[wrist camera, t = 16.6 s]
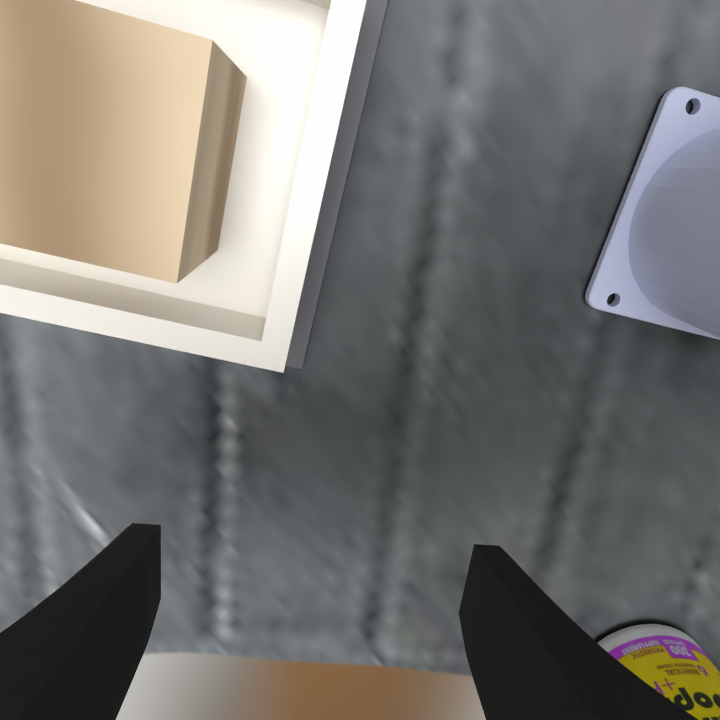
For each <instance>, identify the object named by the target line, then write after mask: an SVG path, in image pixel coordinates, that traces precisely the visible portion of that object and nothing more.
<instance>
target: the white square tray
mask: <svg viewBox="0 0 720 720" xmlns="http://www.w3.org/2000/svg"><path fill="white" fill-rule="evenodd" d="M76 1H80V2H83V3H87V4H90V5H94V6H97V7H101V8H104V9H108V10H111V11H114V12H118V13H121V14H125V15H128V16H132V17H135V18H139V19H142V20H145V21H149V22H152V23H156V24H159V25H163V26H166V27H170V28H173V29H177V30H180V31H183V32H187V33H190V34H194V35H197V36H201V37H204V38H208V39H211V40H213V41H214V42H215V43H216V44H217V45H218V46H219V47H220V48H221V50H222V51H223V52H224V53H225V54H226V55H227V56H228V57H229V58H230V59H231V60H232V61H233V62H234V64H235V65H236V66H237V67H238V68H239V69H240V70H241V71H242V72H243V73H244V74H245V75H246V76H247V79H246V85H245V91H244V96H243V102H242V108H241V114H240V120H239V126H238V132H237V138H236V144H235V150H234V156H233V162H232V168H231V174H230V180H229V186H228V192H227V198H226V204H225V210H224V216H223V222H222V228H221V234H220V240H219V246H218V251H216V252H215V253H214V254H213V255H211V256H210V257H209V258H208V259H207V260H205V261H204V262H203V263H202V264H200V265H199V266H198V267H197V268H196V269H194V270H193V271H192V272H191V273H189V274H188V275H187V276H186V277H184V278H183V279H182V280H181V281H180V282H178V283H177V284H176V283H171V282H167V281H163V280H158V279H154V278H149V277H145V276H141V275H136V274H132V273H127V272H123V271H119V270H114V269H110V268H106V267H101V266H97V265H92V264H88V263H84V262H79V261H75V260H70V259H66V258H62V257H57V256H53V255H49V254H44V253H40V252H35V251H31V250H27V249H22V248H18V247H13V246H9V245H5V244H0V313H5V314H9V315H14V316H19V317H23V318H28V319H33V320H37V321H42V322H47V323H52V324H56V325H61V326H66V327H70V328H75V329H80V330H84V331H89V332H94V333H99V334H103V335H108V336H113V337H117V338H122V339H127V340H131V341H136V342H141V343H146V344H150V345H155V346H160V347H164V348H169V349H174V350H178V351H183V352H188V353H193V354H197V355H202V356H207V357H211V358H216V359H221V360H225V361H230V362H235V363H240V364H244V365H249V366H254V367H258V368H263V369H268V370H272V371H277V372H282V373H284V368H285V364H286V359H287V355H288V350H289V346H290V341H291V337H292V332H293V328H294V323H295V319H296V314H297V310H298V305H299V301H300V296H301V292H302V287H303V283H304V279H305V274H306V270H307V265H308V261H309V256H310V252H311V247H312V243H313V238H314V234H315V229H316V225H317V220H318V216H319V211H320V207H321V202H322V198H323V193H324V189H325V184H326V180H327V175H328V171H329V166H330V162H331V157H332V153H333V148H334V144H335V139H336V135H337V130H338V126H339V121H340V117H341V112H342V108H343V103H344V99H345V94H346V90H347V85H348V81H349V76H350V72H351V67H352V63H353V58H354V54H355V49H356V45H357V40H358V36H359V32H360V27H361V23H362V18H363V14H364V9H365V5H366V0H76Z"/></svg>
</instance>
